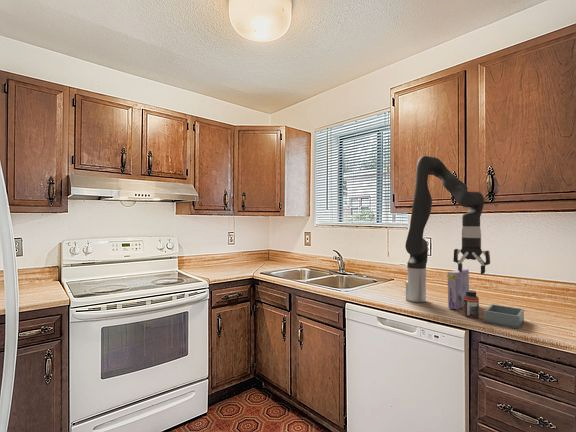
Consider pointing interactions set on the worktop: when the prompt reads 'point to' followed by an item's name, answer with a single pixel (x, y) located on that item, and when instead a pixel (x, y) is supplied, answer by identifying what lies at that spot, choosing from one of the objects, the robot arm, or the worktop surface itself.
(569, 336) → the worktop surface
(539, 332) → the worktop surface
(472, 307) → the supplement bottle
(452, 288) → the cake pan box
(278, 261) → the worktop surface
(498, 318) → the bin
